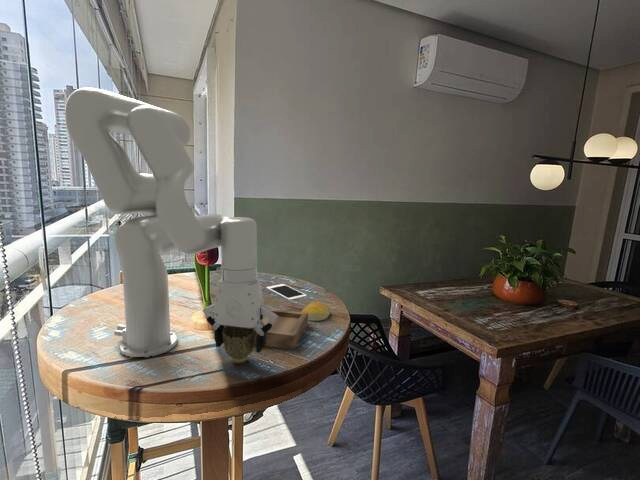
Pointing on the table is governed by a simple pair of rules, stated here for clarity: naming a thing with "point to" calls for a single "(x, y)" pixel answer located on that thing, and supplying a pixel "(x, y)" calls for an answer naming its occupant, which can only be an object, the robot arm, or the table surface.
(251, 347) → the cup
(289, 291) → the cell phone
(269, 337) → the walnut tray
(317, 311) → the bread roll
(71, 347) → the table surface
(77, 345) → the table surface
